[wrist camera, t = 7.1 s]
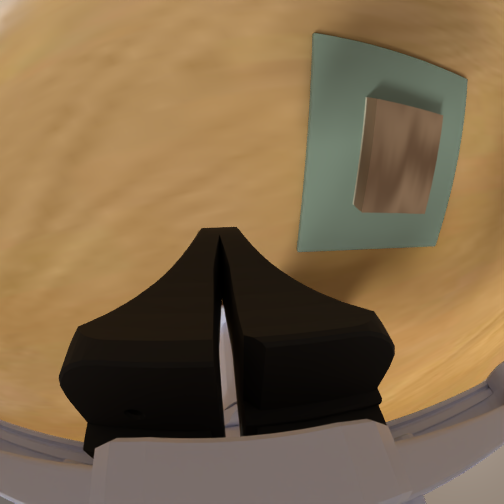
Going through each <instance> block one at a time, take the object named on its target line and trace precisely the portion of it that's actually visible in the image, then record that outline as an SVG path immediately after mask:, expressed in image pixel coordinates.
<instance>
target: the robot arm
mask: <svg viewBox="0 0 504 504" xmlns="http://www.w3.org/2000/svg"><path fill="white" fill-rule="evenodd" d="M222 301H223V305H222ZM394 355H395V346H394V344H393V342H392V340H391V338H390V336H389V334H388V333H387V331H386V329H385V327H384V325H383V324H382V322H381V321H380V319H379V318H378V316H377V315H376V314H375V312H374V311H371V310H367V309H364V308H360V307H357V306H354V305H350V304H347V303H344V302H341V301H339V300H336V299H334V298H331V297H329V296H326V295H324V294H321V293H319V292H317V291H315V290H313V289H311V288H309V287H307V286H305V285H303V284H301V283H300V282H298V281H296V280H294V279H293V278H291V277H290V276H288V275H287V274H285V273H284V272H282V271H281V270H279V269H278V268H277V267H275V266H274V265H273V264H271V263H270V262H269V261H268V260H267V259H266V258H264V257H263V256H262V255H261V254H260V253H259V252H258V251H257V250H256V249H255V248H254V247H253V246H252V245H251V243H250V242H249V241H248V240H247V239H246V238H245V237H244V235H243V234H242V233H241V232H240V230H239V229H238V228H237V227H221V228H202V229H201V230H200V231H199V232H198V234H197V236H196V237H195V239H194V240H193V242H192V243H191V245H190V246H189V247H188V249H187V250H186V251H185V252H184V254H183V255H182V256H181V258H180V259H179V260H178V261H177V262H176V263H175V264H174V265H173V267H172V268H171V269H170V270H169V271H168V272H167V273H166V274H165V275H164V276H163V277H161V278H160V279H159V280H158V281H157V282H156V283H154V284H153V285H152V286H150V287H149V288H148V289H146V290H145V291H144V292H142V293H141V294H139V295H138V296H137V297H135V298H134V299H132V300H130V301H129V302H127V303H126V304H124V305H122V306H120V307H119V308H117V309H115V310H113V311H111V312H109V313H107V314H105V315H103V316H101V317H99V318H97V319H94V320H92V321H90V322H88V323H86V324H83V325H81V326H78V328H77V330H76V332H75V334H74V336H73V338H72V341H71V343H70V346H69V349H68V351H67V354H66V357H65V360H64V363H63V366H62V369H61V372H60V375H59V382H60V386H61V388H62V390H63V391H64V393H65V395H66V396H67V398H68V399H69V400H70V402H71V403H72V404H73V406H74V407H75V408H76V409H77V410H78V412H79V413H80V414H81V415H82V416H83V418H84V419H85V420H86V421H87V422H88V423H87V429H86V434H85V440H84V442H80V441H75V440H70V439H65V438H61V437H56V436H52V435H48V434H44V433H41V432H37V431H33V430H30V429H27V428H23V427H20V426H17V425H14V424H11V423H8V422H5V421H2V420H0V496H2V497H3V498H5V499H7V500H9V501H11V502H14V503H15V504H426V501H425V498H424V496H423V495H425V494H427V493H429V492H430V491H432V490H434V489H436V488H438V487H440V486H441V485H443V484H445V483H447V482H449V481H450V480H452V479H454V478H456V477H457V476H459V475H461V474H462V473H464V472H465V471H467V470H468V469H470V468H472V467H473V466H475V465H476V464H478V463H479V462H481V461H482V460H483V459H485V458H486V457H488V456H489V455H490V454H492V453H493V452H495V450H497V449H498V448H500V447H501V446H502V445H504V361H503V362H502V363H500V364H499V365H498V366H497V367H496V368H495V369H494V370H493V371H492V372H491V373H490V375H489V376H488V378H487V380H486V381H485V382H482V383H480V384H479V385H477V386H475V387H473V388H471V389H469V390H466V391H464V392H462V393H460V394H458V395H456V396H454V397H451V398H449V399H447V400H445V401H442V402H440V403H438V404H435V405H433V406H430V407H428V408H425V409H423V410H420V411H417V412H415V413H412V414H409V415H406V416H404V417H401V418H398V419H395V420H392V421H389V422H385V420H384V417H383V415H382V413H381V410H380V408H379V404H380V403H381V402H382V397H381V395H380V393H379V391H378V389H377V387H378V386H379V384H380V382H381V381H382V379H383V377H384V376H385V374H386V372H387V370H388V369H389V367H390V365H391V362H392V360H393V357H394Z"/></svg>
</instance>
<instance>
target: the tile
mask: <svg viewBox="0 0 504 504" xmlns="http://www.w3.org/2000/svg"><path fill="white" fill-rule="evenodd" d="M442 123H443V115H440V114H437V113H433V112H430V111H426V110H423V109H419V108H415V107H411V106H407V105H403V104H399V103H395V102H390V101H386V100H381V99H376V98H369V97H366V100H365V111H364V122H363V132H362V140H361V149H360V157H359V164H358V171H357V178H356V185H355V192H354V198H353V205H354V206H355V207H356V208H357V209H358V210H360V211H361V212H362V213H409V214H425V211H426V207H427V203H428V199H429V195H430V190H431V186H432V181H433V176H434V172H435V166H436V161H437V156H438V150H439V144H440V137H441V130H442Z"/></svg>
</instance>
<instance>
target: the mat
mask: <svg viewBox="0 0 504 504" xmlns="http://www.w3.org/2000/svg"><path fill="white" fill-rule="evenodd" d="M467 80H468V79H465V78H463V77H461V76H459V75H457V74H455V73H452V72H450V71H448V70H445V69H443V68H440V67H438V66H435V65H433V64H430V63H428V62H425V61H422V60H420V59H417V58H414V57H411V56H408V55H405V54H402V53H399V52H396V51H392V50H389V49H385V48H382V47H378V46H375V45H371V44H367V43H363V42H359V41H354V40H350V39H345V38H340V37H335V36H330V35H324V34H318V33H313V37H312V66H311V88H310V106H309V121H308V136H307V149H306V161H305V173H304V184H303V195H302V205H301V215H300V224H299V233H298V242H297V251H298V252H311V251H335V250H358V249H381V248H404V247H427V246H435V245H436V242H437V239H438V236H439V233H440V229H441V226H442V223H443V219H444V216H445V212H446V208H447V204H448V201H449V197H450V193H451V188H452V184H453V180H454V175H455V170H456V166H457V160H458V155H459V149H460V144H461V137H462V130H463V123H464V115H465V106H466V95H467ZM366 97H369V98H376V99H381V100H386V101H390V102H395V103H399V104H403V105H407V106H411V107H415V108H419V109H423V110H426V111H430V112H433V113H437V114H440V115H443V123H442V130H441V137H440V144H439V150H438V156H437V161H436V166H435V172H434V176H433V181H432V186H431V190H430V195H429V199H428V203H427V207H426V211H425V214H409V213H362V212H361V211H360V210H358V209H357V208H356V207H355V206H354V205H353V198H354V192H355V185H356V178H357V171H358V164H359V157H360V149H361V140H362V132H363V122H364V111H365V100H366Z"/></svg>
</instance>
